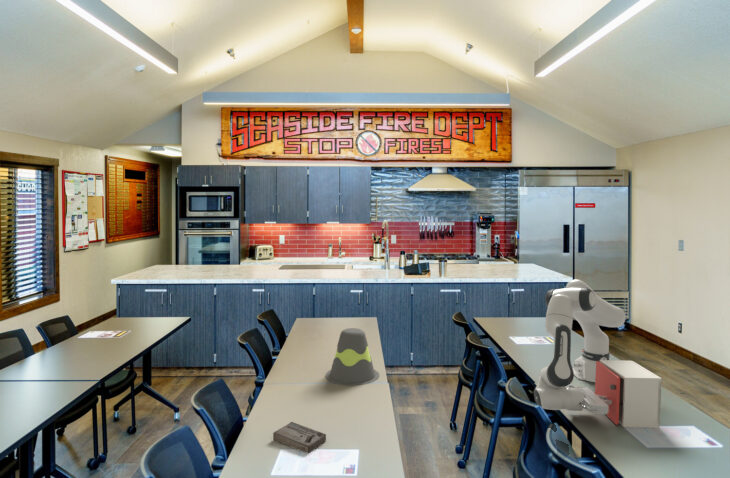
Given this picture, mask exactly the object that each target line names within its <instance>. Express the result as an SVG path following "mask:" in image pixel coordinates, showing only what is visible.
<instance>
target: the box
mask: <svg viewBox="0 0 730 478" xmlns="http://www.w3.org/2000/svg"><path fill="white" fill-rule="evenodd" d="M272 434H273V435H272V436H273V437H272V438H273V441H276V442H278V443H281V444H284V445H286V446H288V447H291V448H293V449H295V450H298V451H301V452H303V453H305V454H309V453H311V452H313V450H315V449H316V448H318V447H320V446H321V445H323V444H324V443H326V442H327V434H326V433H324V432H321V431H318V430H315V429H313V428H310V427H308V426H304V425H301V424H299V423H296V422H294V421H291V422H289V423H287V424H286V425H283V427H280V428H279V429H277V430H276V431H273V432H272Z"/></svg>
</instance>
